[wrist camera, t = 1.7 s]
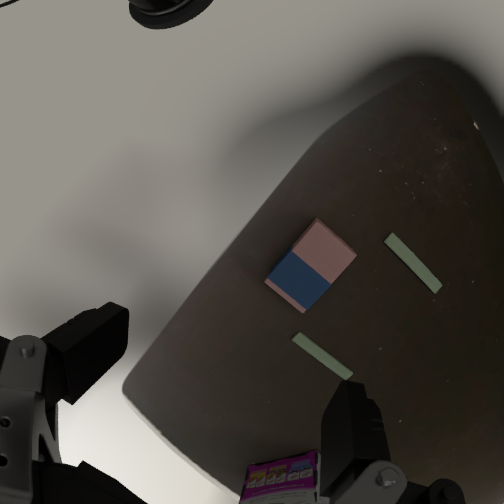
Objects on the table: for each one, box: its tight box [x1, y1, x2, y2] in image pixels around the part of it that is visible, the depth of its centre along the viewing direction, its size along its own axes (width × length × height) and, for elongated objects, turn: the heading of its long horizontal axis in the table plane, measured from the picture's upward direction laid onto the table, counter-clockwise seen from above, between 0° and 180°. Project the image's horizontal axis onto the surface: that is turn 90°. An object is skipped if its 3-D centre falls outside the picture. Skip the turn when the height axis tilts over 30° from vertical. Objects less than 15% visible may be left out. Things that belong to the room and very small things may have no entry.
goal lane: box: [292, 232, 442, 380], centre depth 27 cm, size 8×14×1 cm, turn 142°
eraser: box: [264, 218, 357, 313], centre depth 26 cm, size 5×7×3 cm, turn 142°
